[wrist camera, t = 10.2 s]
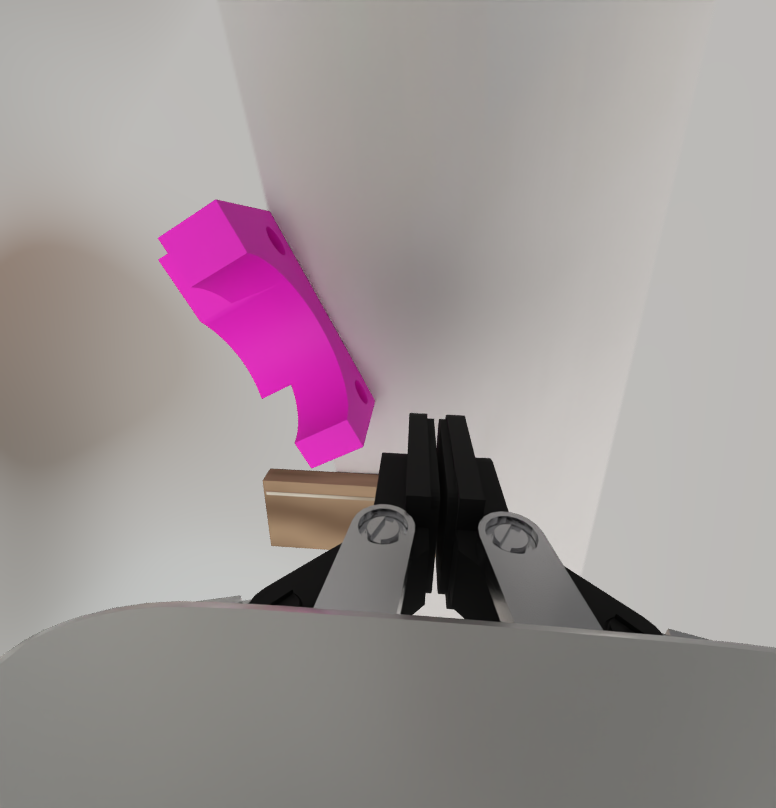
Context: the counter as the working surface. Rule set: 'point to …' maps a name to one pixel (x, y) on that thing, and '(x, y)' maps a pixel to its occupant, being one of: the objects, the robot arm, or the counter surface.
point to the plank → (314, 505)
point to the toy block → (270, 321)
